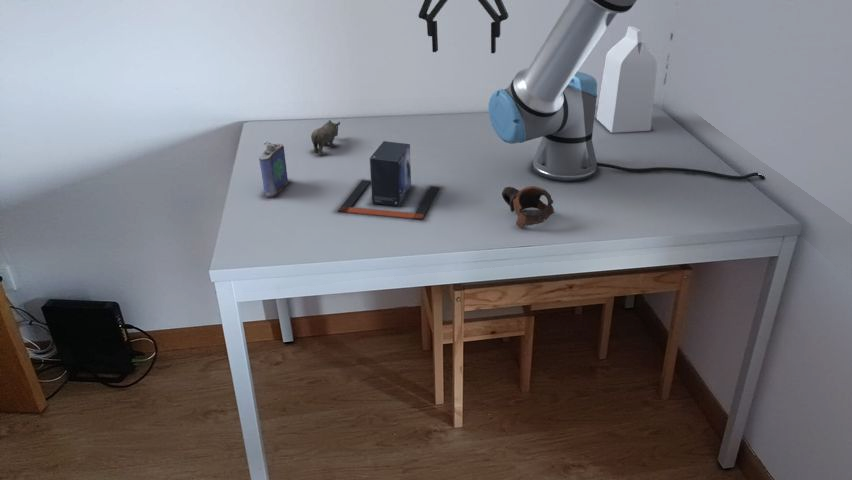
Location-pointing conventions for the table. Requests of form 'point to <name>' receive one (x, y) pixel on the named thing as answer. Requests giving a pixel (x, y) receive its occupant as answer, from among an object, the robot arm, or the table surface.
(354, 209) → the bay
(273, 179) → the flask
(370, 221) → the table surface
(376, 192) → the small box
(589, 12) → the robot arm
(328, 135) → the rhino figurine
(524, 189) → the pottery mug
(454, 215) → the table surface
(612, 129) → the milk
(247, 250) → the table surface
